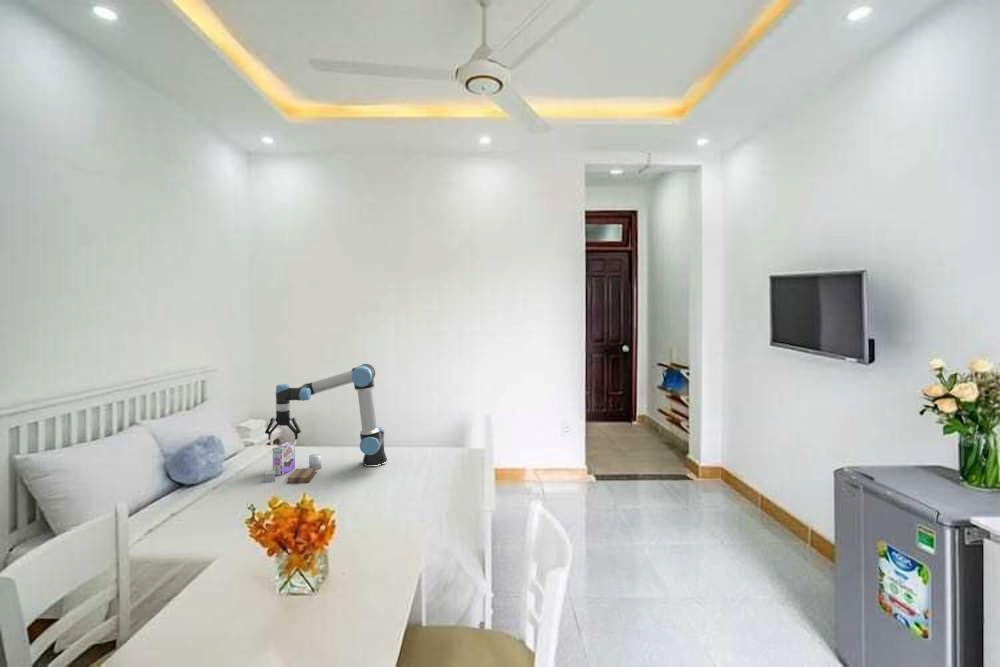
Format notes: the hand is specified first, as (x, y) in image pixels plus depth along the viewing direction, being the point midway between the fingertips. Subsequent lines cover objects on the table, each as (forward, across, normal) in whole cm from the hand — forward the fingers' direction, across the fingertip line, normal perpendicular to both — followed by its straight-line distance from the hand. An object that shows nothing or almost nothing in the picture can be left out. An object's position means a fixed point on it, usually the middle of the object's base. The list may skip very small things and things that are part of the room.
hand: (283, 444), depth 307 cm
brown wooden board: (+16, -14, +12) cm, 25 cm away
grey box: (+17, +2, +15) cm, 23 cm away
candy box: (+17, 0, 0) cm, 17 cm away
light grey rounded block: (+16, -18, -5) cm, 24 cm away
